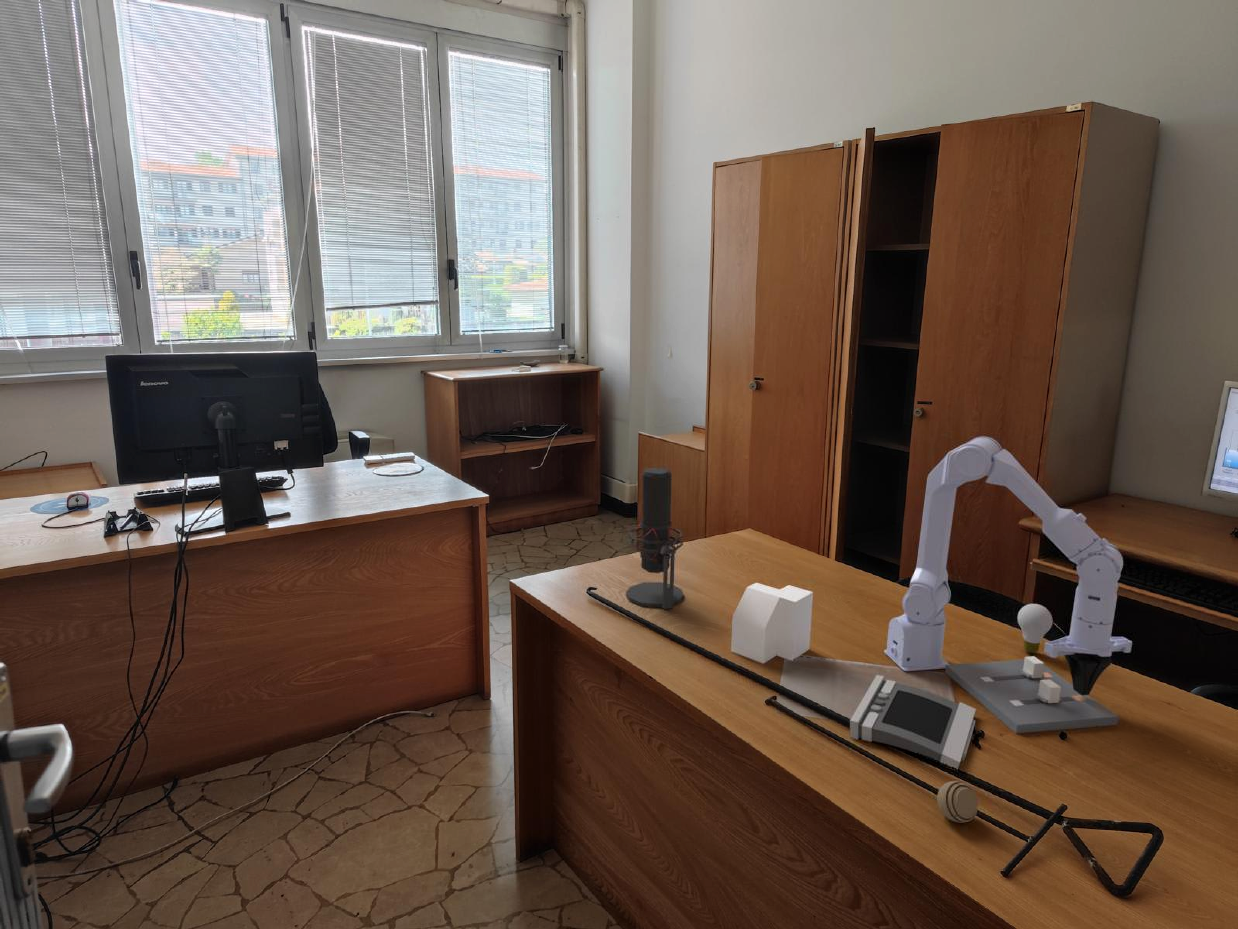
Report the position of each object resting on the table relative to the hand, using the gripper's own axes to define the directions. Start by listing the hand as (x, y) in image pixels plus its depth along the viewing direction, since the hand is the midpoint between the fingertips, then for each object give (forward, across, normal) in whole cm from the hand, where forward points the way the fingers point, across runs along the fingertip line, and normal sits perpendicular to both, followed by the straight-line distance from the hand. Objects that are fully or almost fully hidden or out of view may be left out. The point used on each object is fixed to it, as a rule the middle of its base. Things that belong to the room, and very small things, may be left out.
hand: (1081, 692), depth 126 cm
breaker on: (+1, -3, +8) cm, 9 cm away
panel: (+3, -7, +4) cm, 8 cm away
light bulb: (+3, +5, +19) cm, 20 cm away
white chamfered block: (+3, -45, +27) cm, 53 cm away
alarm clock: (+3, -31, -2) cm, 31 cm away
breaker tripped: (+1, -6, 0) cm, 6 cm away
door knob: (+3, -37, -23) cm, 44 cm away
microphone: (+3, -62, +56) cm, 84 cm away
